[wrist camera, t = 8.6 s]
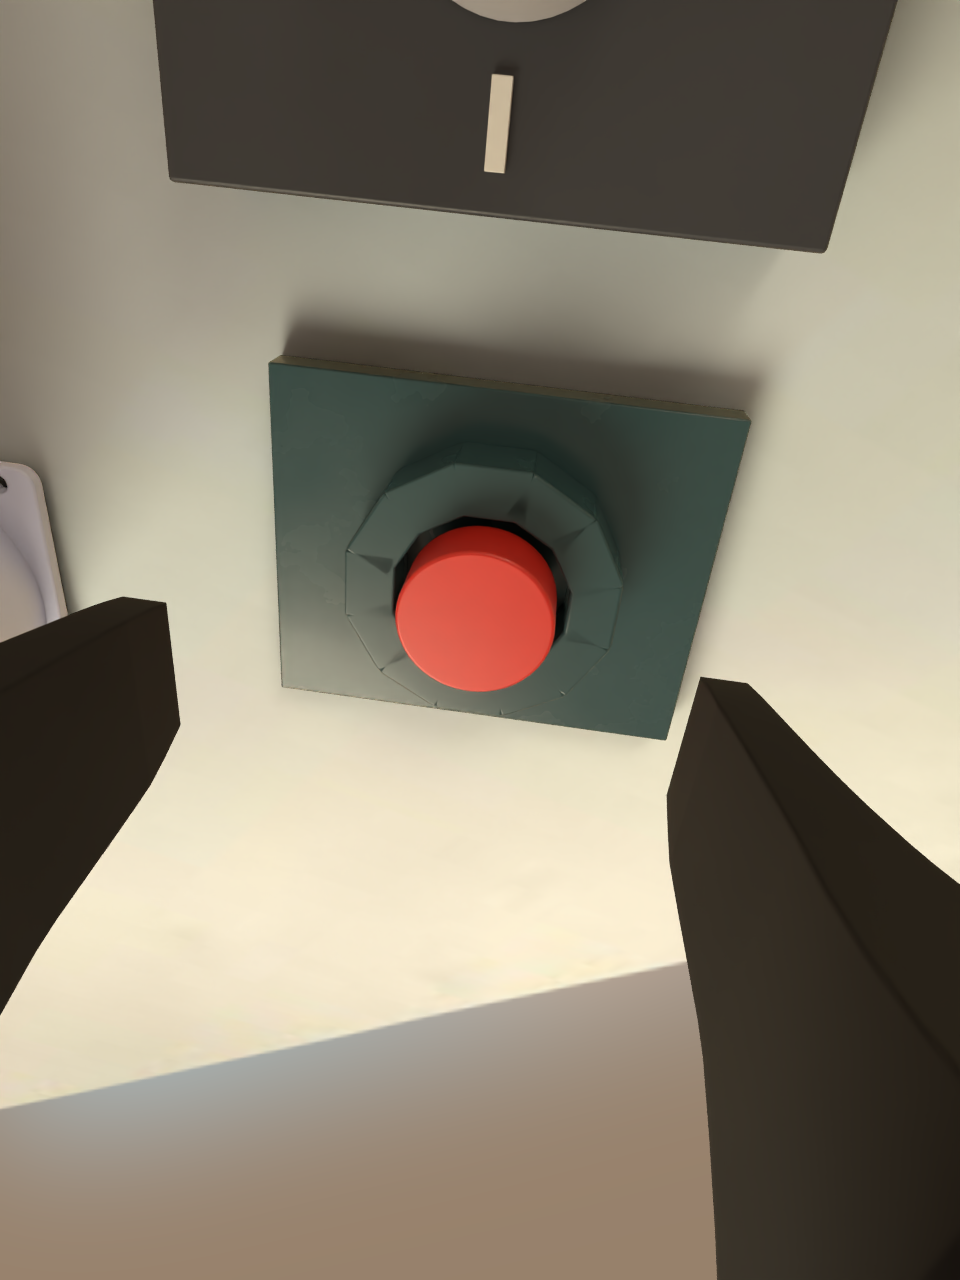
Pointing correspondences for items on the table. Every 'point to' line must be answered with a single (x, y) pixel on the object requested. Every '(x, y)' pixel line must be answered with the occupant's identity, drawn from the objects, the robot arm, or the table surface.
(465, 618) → the power button
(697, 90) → the dial console
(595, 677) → the green button base
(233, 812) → the table surface
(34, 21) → the table surface
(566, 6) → the dial
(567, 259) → the table surface
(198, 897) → the table surface
